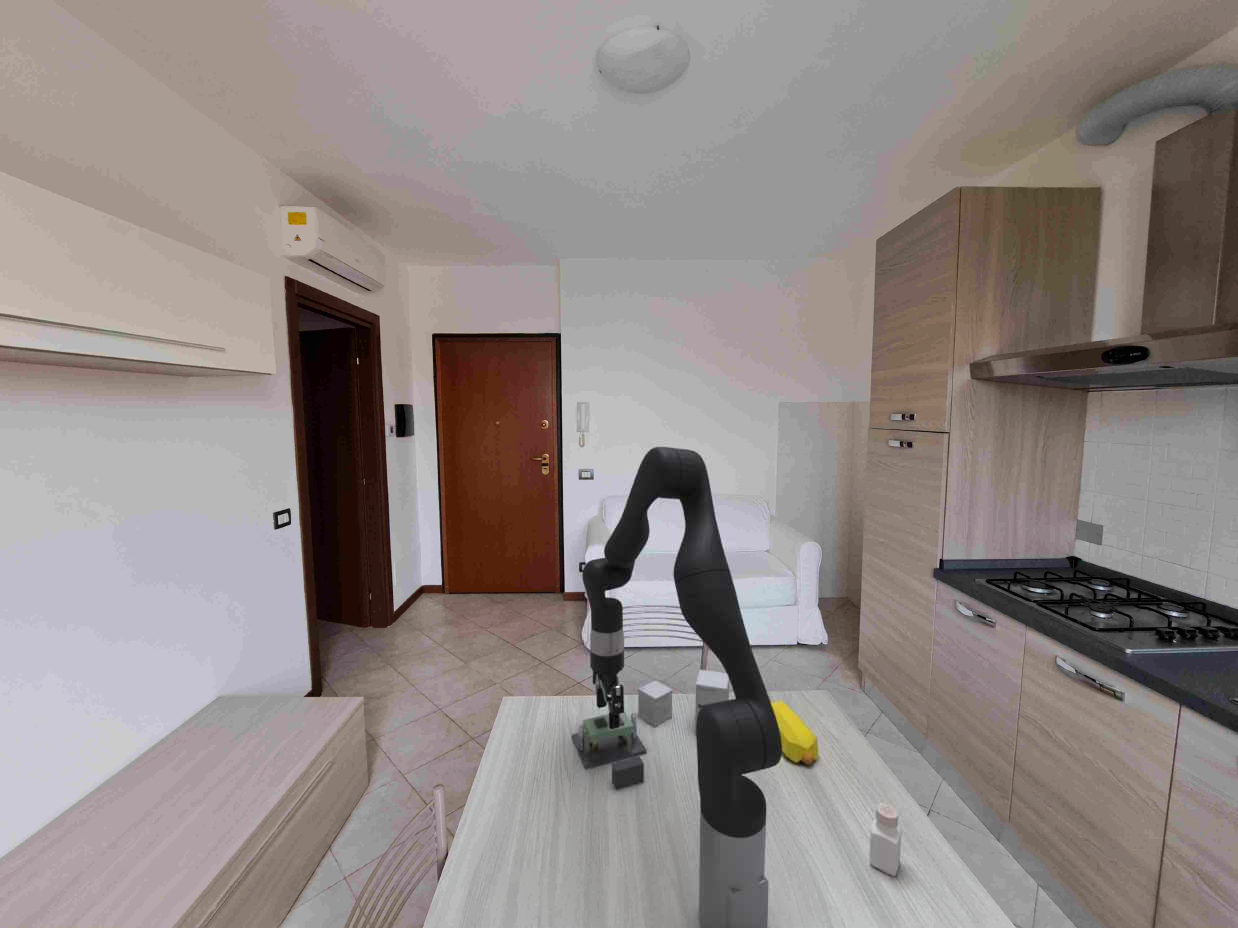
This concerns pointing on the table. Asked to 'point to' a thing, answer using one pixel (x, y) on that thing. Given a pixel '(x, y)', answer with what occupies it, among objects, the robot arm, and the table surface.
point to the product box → (655, 703)
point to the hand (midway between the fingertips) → (607, 716)
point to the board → (606, 727)
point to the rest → (627, 772)
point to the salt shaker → (885, 840)
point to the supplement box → (710, 689)
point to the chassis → (608, 747)
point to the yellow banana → (795, 735)
